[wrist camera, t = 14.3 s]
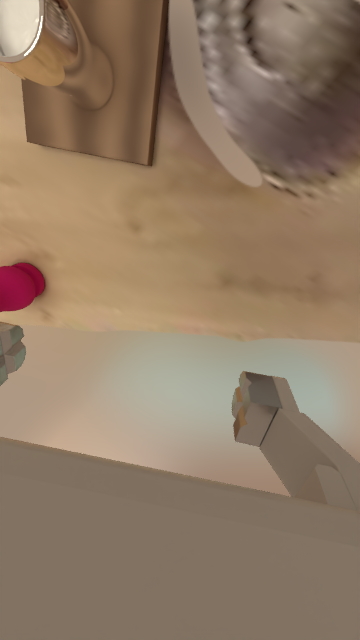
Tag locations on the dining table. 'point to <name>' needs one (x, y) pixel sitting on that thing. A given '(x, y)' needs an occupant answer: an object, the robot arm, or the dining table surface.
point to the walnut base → (128, 90)
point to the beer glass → (54, 51)
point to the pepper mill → (19, 286)
